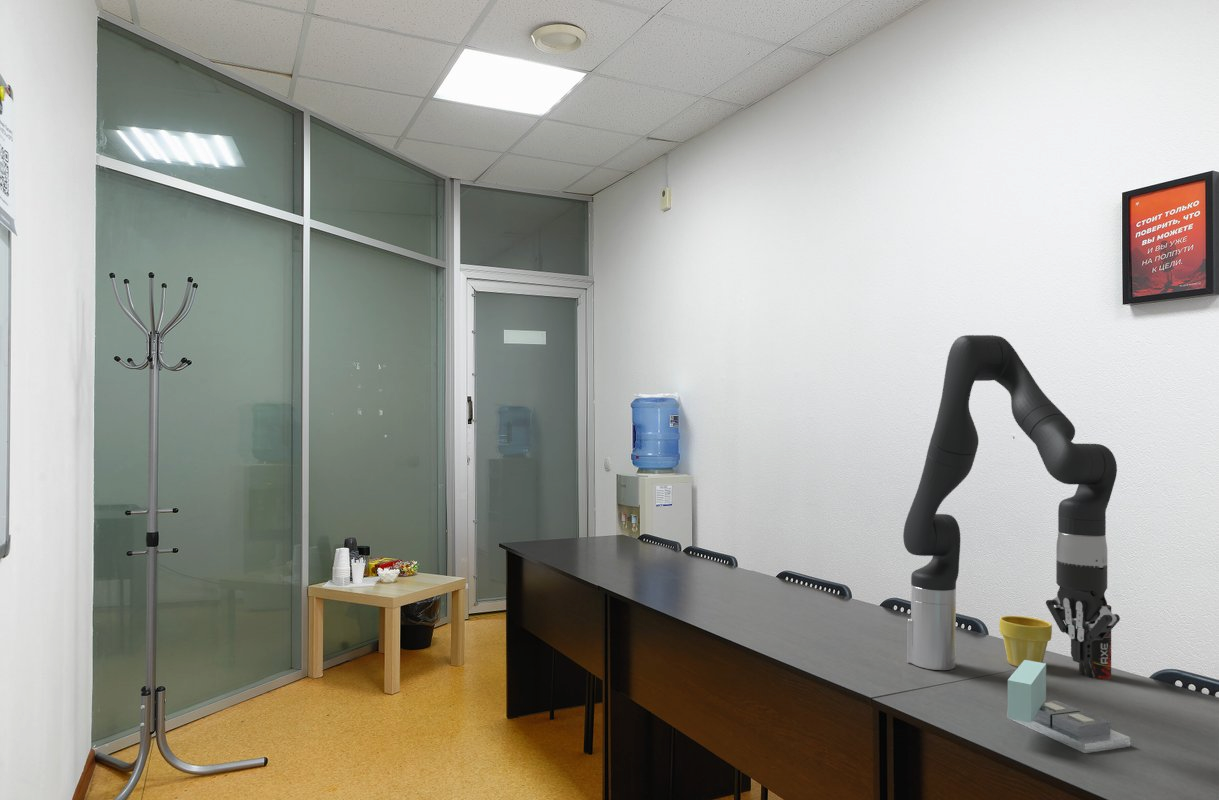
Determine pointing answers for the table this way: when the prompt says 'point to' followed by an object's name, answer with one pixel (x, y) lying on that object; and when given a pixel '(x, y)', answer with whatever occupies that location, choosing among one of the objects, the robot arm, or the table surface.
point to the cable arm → (1026, 691)
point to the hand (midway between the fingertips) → (1081, 662)
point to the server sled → (1075, 728)
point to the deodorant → (1099, 659)
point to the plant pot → (1025, 638)
